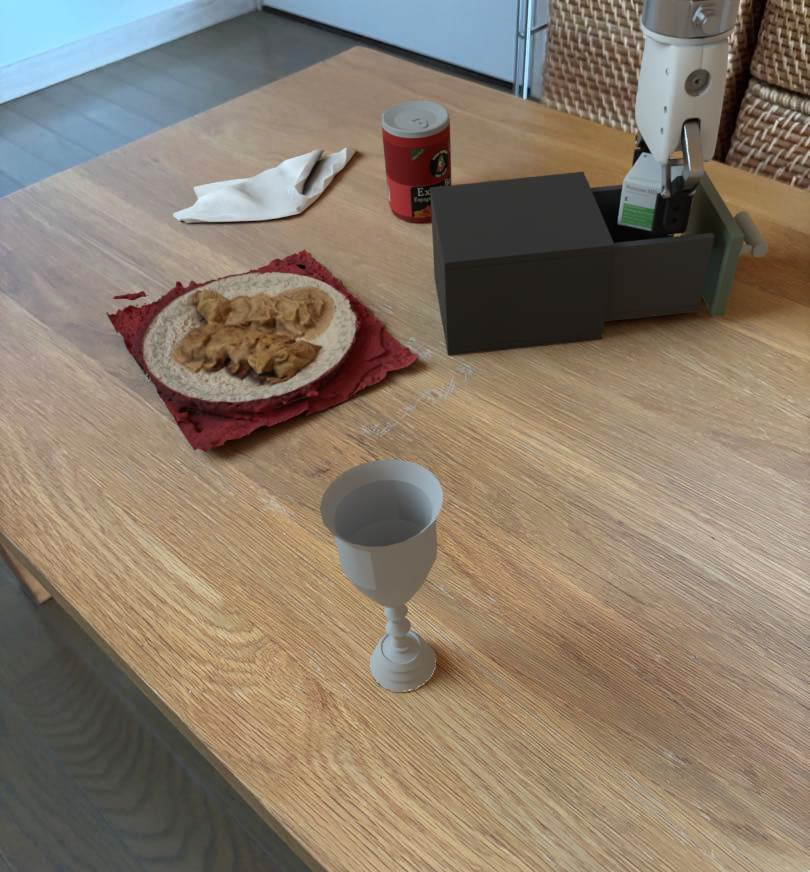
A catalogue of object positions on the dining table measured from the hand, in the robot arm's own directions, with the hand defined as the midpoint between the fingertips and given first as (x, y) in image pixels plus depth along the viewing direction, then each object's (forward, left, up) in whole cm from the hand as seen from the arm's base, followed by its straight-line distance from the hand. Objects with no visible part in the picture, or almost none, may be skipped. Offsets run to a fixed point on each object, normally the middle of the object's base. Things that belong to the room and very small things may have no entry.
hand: (656, 208), depth 83 cm
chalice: (+29, +42, -10) cm, 52 cm away
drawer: (-1, 0, -9) cm, 9 cm away
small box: (0, 0, -1) cm, 1 cm away
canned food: (+21, -22, -10) cm, 32 cm away
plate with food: (+41, +2, -10) cm, 42 cm away
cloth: (+39, -29, -10) cm, 50 cm away
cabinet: (+13, 0, -10) cm, 17 cm away
